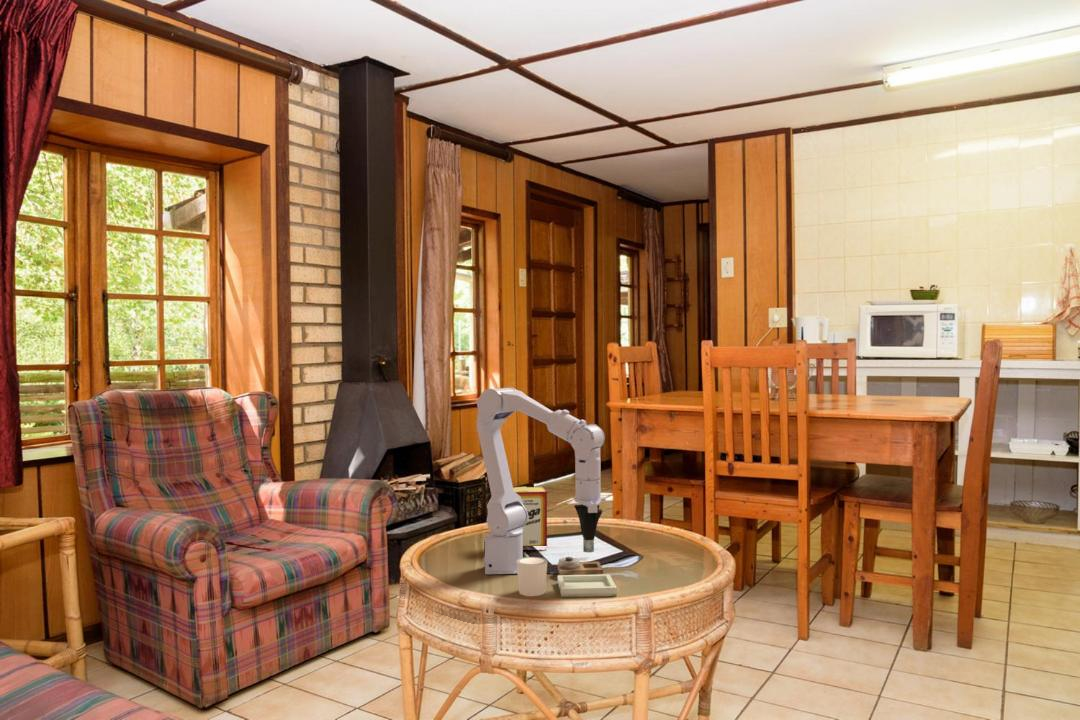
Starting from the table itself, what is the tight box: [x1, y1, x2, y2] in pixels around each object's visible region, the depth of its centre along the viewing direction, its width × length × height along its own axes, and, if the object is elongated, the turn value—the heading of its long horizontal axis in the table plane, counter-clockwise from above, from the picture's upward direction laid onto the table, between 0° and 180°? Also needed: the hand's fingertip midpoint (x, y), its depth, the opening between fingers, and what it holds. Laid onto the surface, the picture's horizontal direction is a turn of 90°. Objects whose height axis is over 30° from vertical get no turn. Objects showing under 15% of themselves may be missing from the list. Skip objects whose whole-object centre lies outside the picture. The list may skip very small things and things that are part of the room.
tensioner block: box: [557, 556, 604, 575], centre depth 185 cm, size 10×7×4 cm
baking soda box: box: [513, 486, 548, 547], centre depth 210 cm, size 10×6×16 cm
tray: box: [556, 573, 618, 598], centre depth 173 cm, size 12×10×2 cm
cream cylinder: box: [516, 556, 548, 597], centre depth 171 cm, size 7×7×7 cm
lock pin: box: [582, 536, 595, 553], centre depth 177 cm, size 2×2×7 cm
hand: (588, 538), depth 177 cm, fingers closed on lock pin, 2 cm apart
